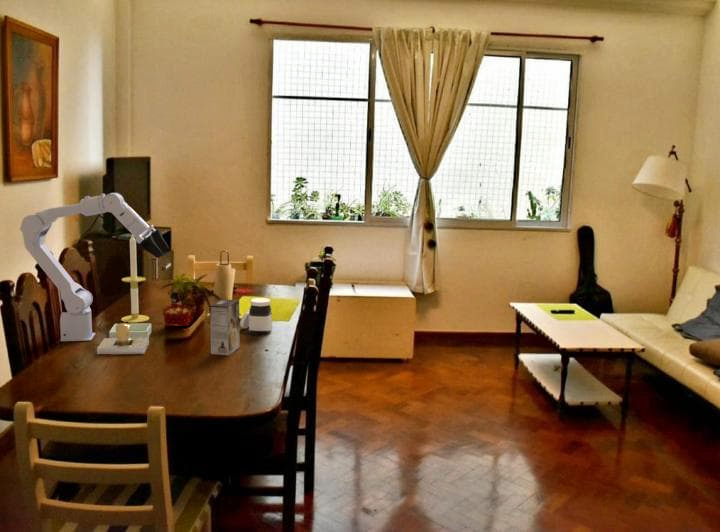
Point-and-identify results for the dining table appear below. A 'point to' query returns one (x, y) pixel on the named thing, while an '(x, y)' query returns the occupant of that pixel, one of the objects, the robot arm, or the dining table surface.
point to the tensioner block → (134, 348)
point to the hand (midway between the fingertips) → (163, 253)
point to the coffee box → (224, 326)
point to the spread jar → (258, 317)
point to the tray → (134, 331)
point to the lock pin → (123, 334)
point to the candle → (134, 287)
